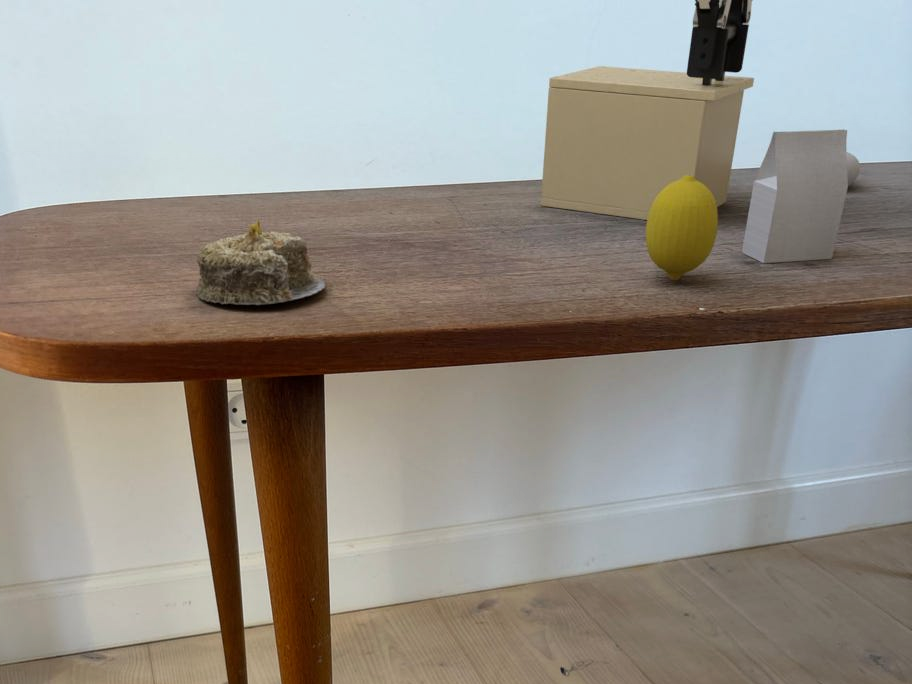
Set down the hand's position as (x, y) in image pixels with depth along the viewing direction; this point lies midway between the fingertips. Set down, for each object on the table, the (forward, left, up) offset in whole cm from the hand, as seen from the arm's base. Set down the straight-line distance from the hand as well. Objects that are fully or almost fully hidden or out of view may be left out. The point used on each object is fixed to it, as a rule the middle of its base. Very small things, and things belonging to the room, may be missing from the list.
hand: (714, 72), depth 99 cm
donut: (-7, -21, -13) cm, 25 cm away
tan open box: (+6, 0, -13) cm, 14 cm away
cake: (+19, +46, -13) cm, 52 cm away
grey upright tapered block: (-12, +12, -13) cm, 21 cm away
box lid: (+6, 0, -2) cm, 6 cm away
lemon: (-7, +25, -13) cm, 29 cm away
